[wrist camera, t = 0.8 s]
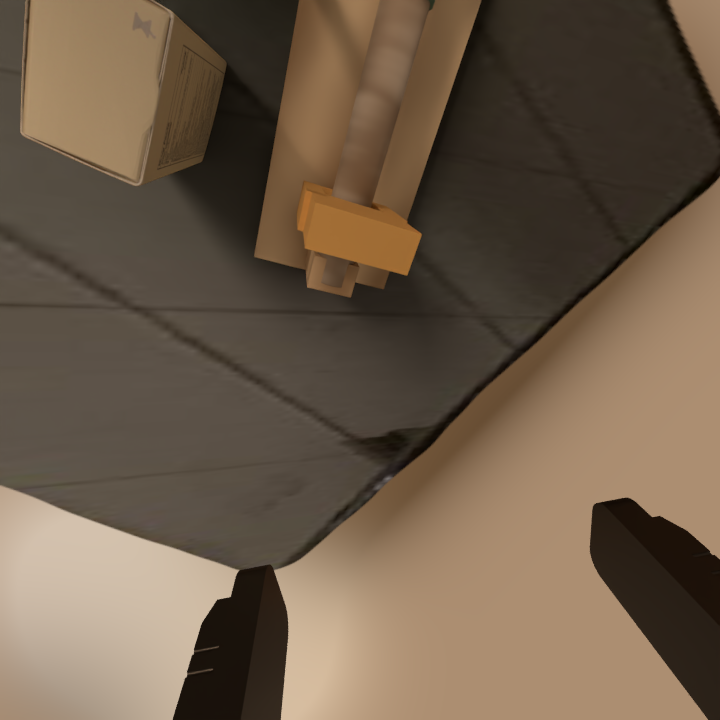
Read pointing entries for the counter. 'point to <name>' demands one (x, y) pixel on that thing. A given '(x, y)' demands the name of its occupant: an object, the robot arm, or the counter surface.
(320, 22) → the pipe rig
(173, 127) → the skincare box
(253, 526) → the counter surface
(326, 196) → the orange block
